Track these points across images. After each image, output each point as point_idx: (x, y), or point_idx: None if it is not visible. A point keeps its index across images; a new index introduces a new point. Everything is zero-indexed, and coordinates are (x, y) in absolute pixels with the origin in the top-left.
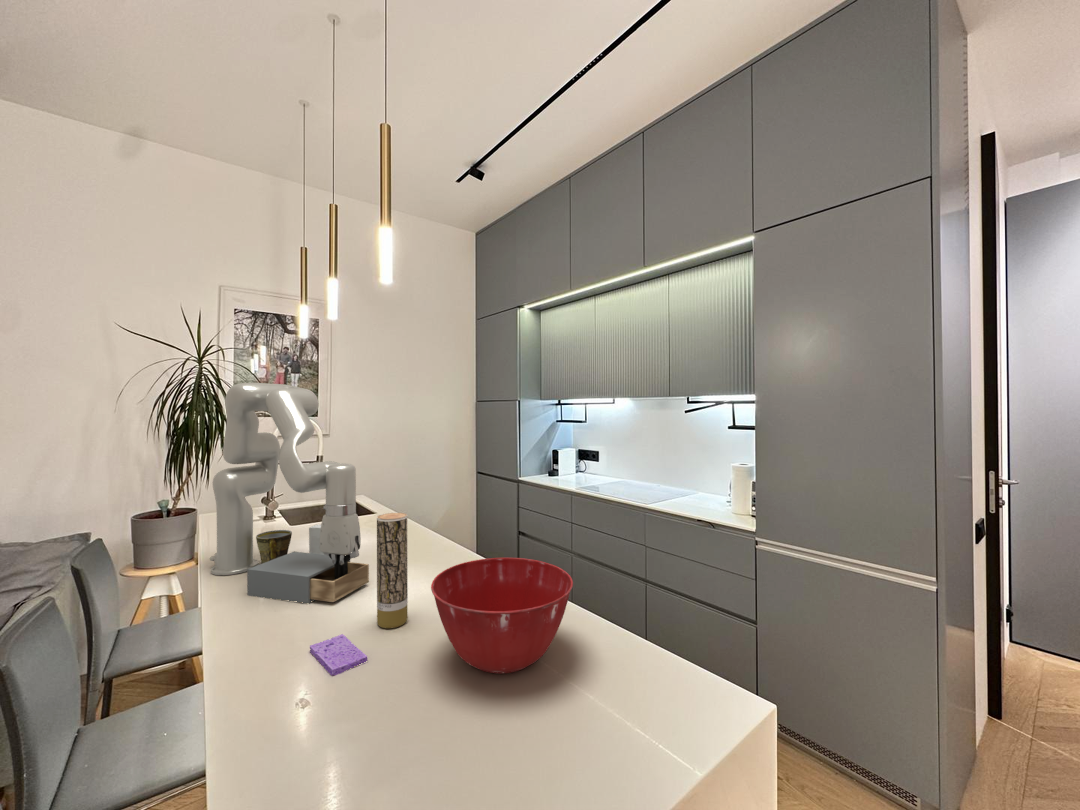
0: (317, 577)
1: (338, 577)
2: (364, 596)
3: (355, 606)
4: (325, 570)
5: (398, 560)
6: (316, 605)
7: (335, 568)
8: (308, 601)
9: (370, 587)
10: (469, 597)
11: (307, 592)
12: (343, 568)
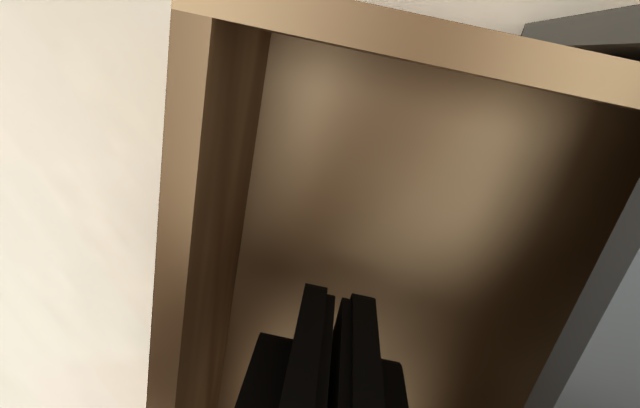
0: None
1: (318, 297)
2: (124, 216)
3: (67, 16)
4: (541, 385)
5: None
6: (428, 3)
7: (363, 390)
8: (533, 28)
9: None
10: None
11: (592, 14)
12: (242, 400)
